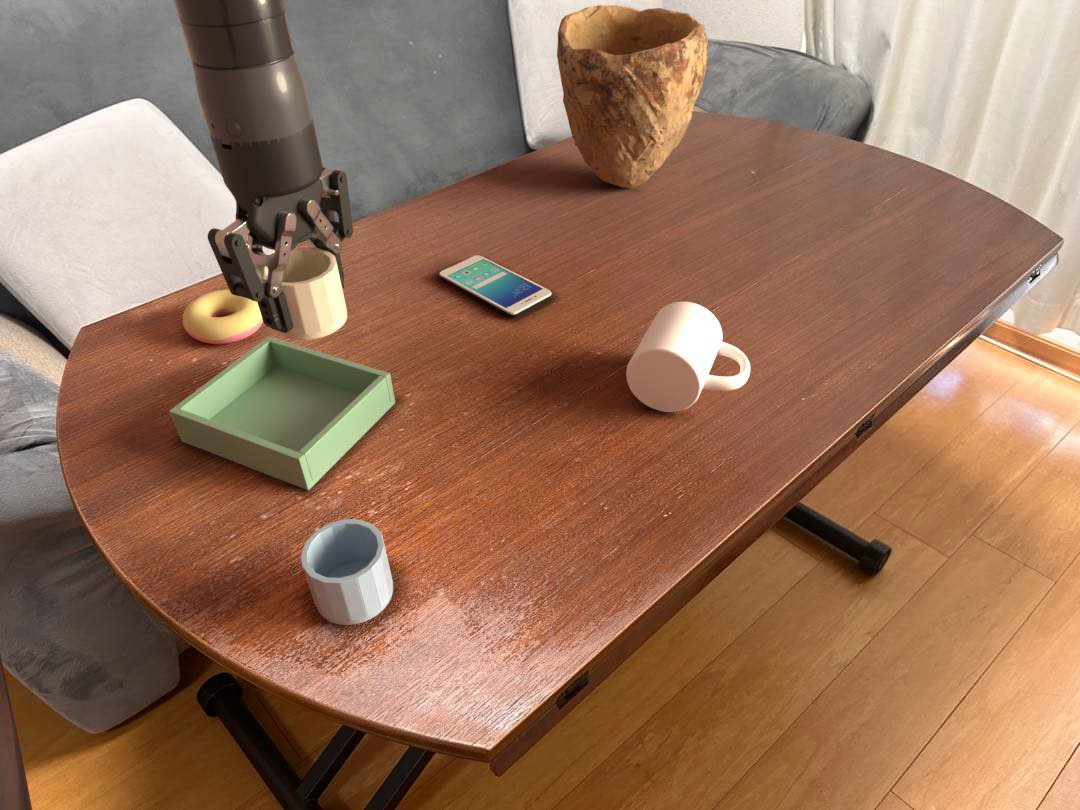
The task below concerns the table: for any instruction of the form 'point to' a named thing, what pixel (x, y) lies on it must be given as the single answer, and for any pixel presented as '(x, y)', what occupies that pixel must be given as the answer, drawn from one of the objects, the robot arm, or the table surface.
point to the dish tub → (285, 410)
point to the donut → (214, 329)
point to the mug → (681, 359)
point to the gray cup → (348, 571)
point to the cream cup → (313, 294)
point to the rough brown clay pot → (629, 86)
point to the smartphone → (495, 286)
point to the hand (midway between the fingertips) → (307, 308)
